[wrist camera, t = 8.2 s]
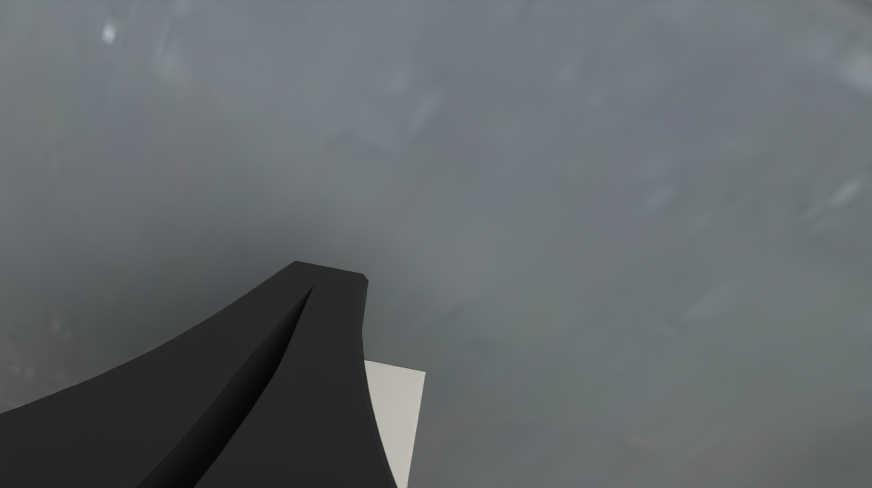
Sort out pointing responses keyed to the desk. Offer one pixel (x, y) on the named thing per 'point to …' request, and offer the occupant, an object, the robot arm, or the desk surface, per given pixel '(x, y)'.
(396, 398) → the domino
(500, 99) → the desk surface
